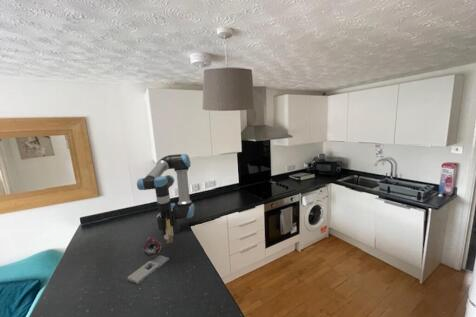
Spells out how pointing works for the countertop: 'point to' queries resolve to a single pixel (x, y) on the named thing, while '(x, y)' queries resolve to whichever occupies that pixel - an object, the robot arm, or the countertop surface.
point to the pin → (168, 231)
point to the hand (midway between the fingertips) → (169, 237)
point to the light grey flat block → (142, 273)
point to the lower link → (159, 260)
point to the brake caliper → (152, 246)
